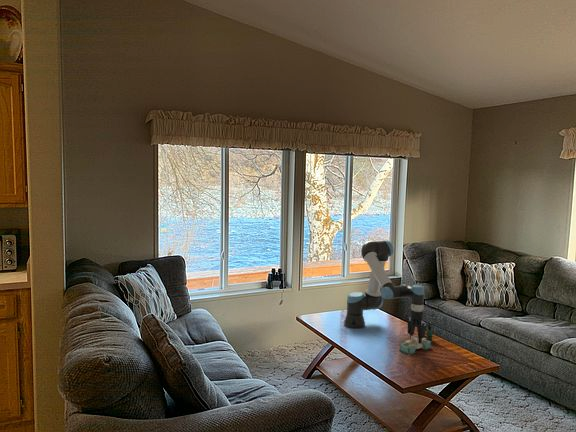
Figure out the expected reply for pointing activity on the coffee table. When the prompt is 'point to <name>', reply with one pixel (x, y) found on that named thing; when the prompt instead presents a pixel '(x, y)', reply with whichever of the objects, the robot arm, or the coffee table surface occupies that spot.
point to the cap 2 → (427, 345)
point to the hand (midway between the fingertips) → (415, 346)
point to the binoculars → (429, 333)
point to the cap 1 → (407, 349)
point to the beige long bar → (414, 343)
